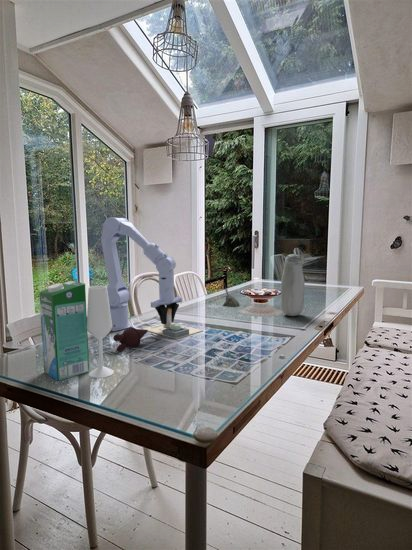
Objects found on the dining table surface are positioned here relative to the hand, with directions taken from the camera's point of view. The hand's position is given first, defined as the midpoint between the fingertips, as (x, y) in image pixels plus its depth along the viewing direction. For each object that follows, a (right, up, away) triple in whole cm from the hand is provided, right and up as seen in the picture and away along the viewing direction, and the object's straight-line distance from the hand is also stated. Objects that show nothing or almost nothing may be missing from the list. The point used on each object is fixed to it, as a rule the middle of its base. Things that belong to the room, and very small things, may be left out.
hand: (167, 322), depth 147 cm
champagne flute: (-14, -9, -43) cm, 46 cm away
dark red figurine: (-10, -6, -19) cm, 22 cm away
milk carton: (-24, -9, -42) cm, 49 cm away
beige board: (+2, -3, +1) cm, 4 cm away
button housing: (+4, -4, -6) cm, 8 cm away
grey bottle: (+54, 0, +24) cm, 59 cm away
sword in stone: (+28, +3, +49) cm, 57 cm away
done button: (+4, -3, -6) cm, 8 cm away
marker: (0, -2, 0) cm, 2 cm away
